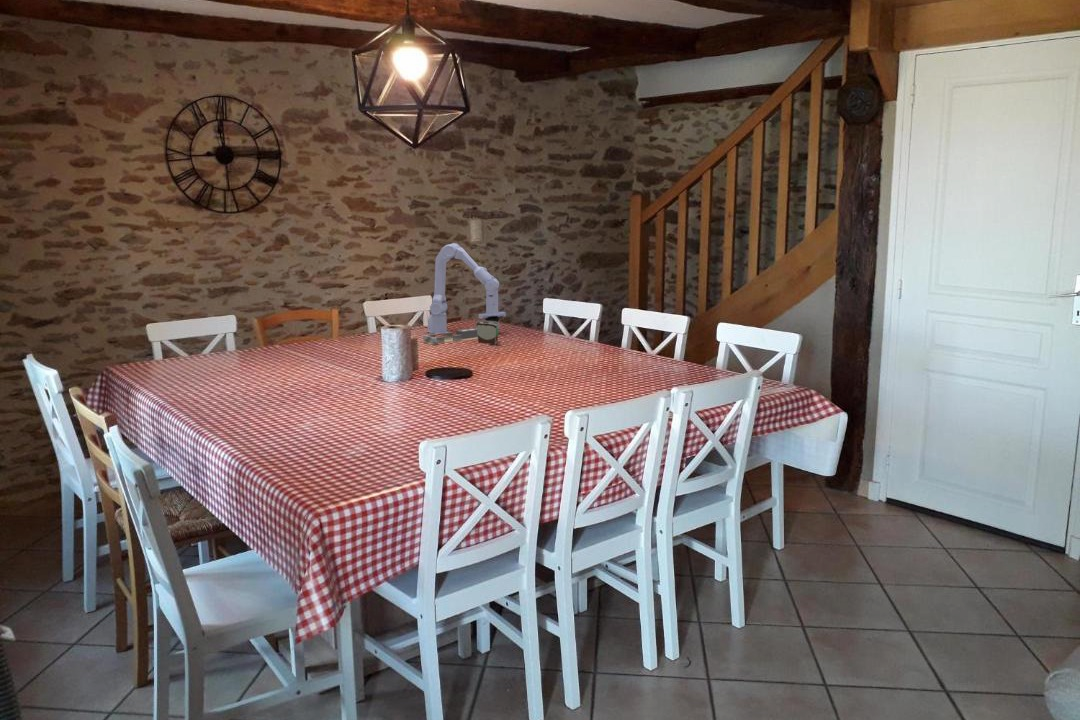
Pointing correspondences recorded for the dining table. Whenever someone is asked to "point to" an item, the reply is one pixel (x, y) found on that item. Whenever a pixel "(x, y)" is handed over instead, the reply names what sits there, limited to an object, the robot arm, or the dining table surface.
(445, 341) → the mount
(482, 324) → the food container
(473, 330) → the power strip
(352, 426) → the dining table surface
